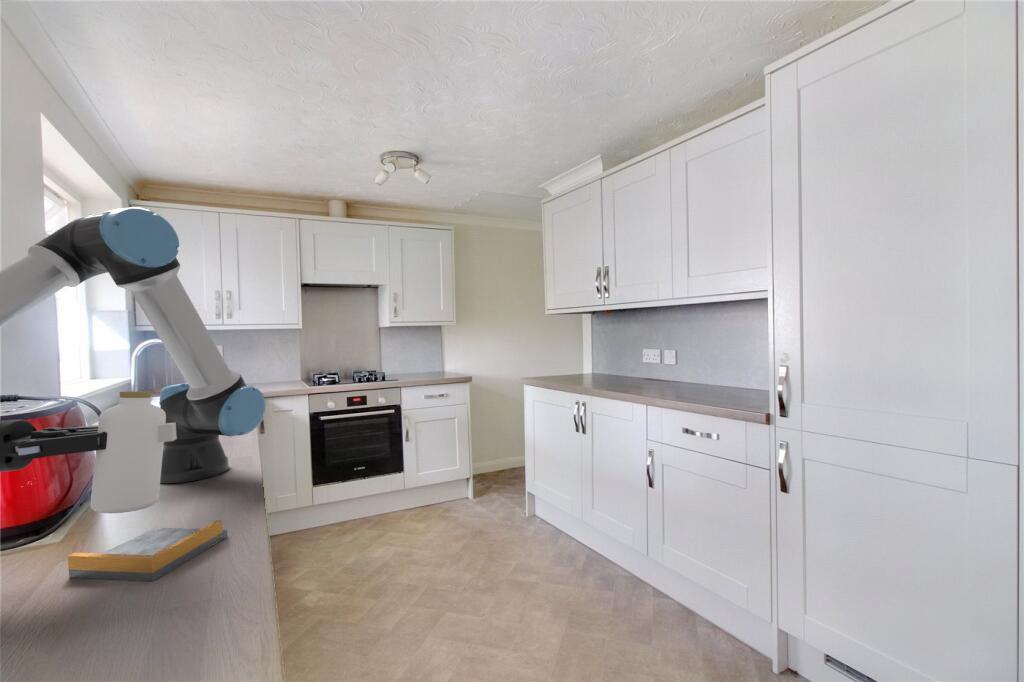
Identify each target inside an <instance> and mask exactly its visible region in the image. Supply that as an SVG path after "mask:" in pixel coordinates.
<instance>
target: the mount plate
mask: <svg viewBox="0 0 1024 682" xmlns="http://www.w3.org/2000/svg"><path fill="white" fill-rule="evenodd" d="M225 537H226V538H227V537H228V529H223V521H222V520H215V521H213V522H211V523H209V524H207V525H205V526H204V527H202V528H175V527H174V528H173V527H171V528H169V527H154V528H152V529H150V530H147V531H146V532H144V533H142V534H140V535H137V536H135V537H134V538H131V539H129V540H127V541H125V542H123V543H120V544H118V545H117V546H115V547H112V548H111V549H108V550H106V551H103V552H102V553H96V552H74V553H71V554H68V555H67V563H68V577H69V578H73V579H76V578H77V579H95V580H96V579H97V580H112V581H113V580H114V581H115V580H117V581H118V580H119V581H120V580H121V581H139V582H155V581H157V580H158V579H159V578H162V577H163V576H164V575H166V574H167V573H170V572H171V571H173V570H174V569H176V568H178V567H179V566H182V565H183V564H185V563H186V562H188V561H190V560H191V559H194V558H195V557H196V556H198V555H199V554H201V553H203V552H205V551H206V550H207V548H208V547H209V548H211V547H213V546H214V545H216V544H217V543H216V542H218V541H219V542H221V541H223V540H224V539H226V538H225ZM223 538H224V539H223ZM222 539H223V540H222ZM220 540H221V541H220ZM219 542H218V543H219ZM215 543H216V544H215ZM213 544H214V545H213ZM212 545H213V546H212ZM210 546H211V547H210ZM209 548H208V549H209ZM205 549H206V550H205ZM202 551H203V552H202Z"/></svg>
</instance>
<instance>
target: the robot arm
mask: <svg viewBox="0 0 1024 682" xmlns="http://www.w3.org/2000/svg"><path fill="white" fill-rule="evenodd" d="M179 247H180V240H179V236H178V234H177V232H176V229H174V227H173V225H172V224H171V223H170V222H169V221H168V220H167V219H165V218H164V217H163V216H162V215H160V214H159V213H157V212H155V211H152V210H150V209H146V208H144V207H136V206H135V207H119V208H114V209H112V210H106V211H104V212H98V213H94V214H93V213H92V214H88V215H83V216H80V217H78V218H76V219H75V218H74V220H72V221H70V222H68V223H67V224H65V225H64V226H62V227H61V228H59V229H57V230H56V231H54V232H52V233H51V234H50V235H48V236H47V237H45V238H43V239H42V240H39V241H38V242H36V243H35V244H33V245H31V246H29V247H28V249H27V255H26V256H24V257H23V258H21V259H20V260H18V261H16V262H14V263H12V264H10V265H8V266H7V267H5V268H3V269H2V270H0V329H2V328H3V327H5V326H6V325H8V324H9V323H10V322H12V321H14V320H15V319H17V318H18V317H20V316H22V315H24V313H27V312H28V311H29V310H31V309H32V308H34V307H36V306H37V305H39V304H40V303H42V302H44V301H45V300H46V299H47V298H49V297H51V296H53V295H54V294H56V293H57V292H59V291H60V290H62V289H63V288H65V287H67V288H68V287H69V288H74V287H75V288H76V287H77V286H79V285H80V284H82V283H83V282H85V281H87V280H89V279H91V278H93V277H95V276H100V275H102V274H107V273H108V275H109V276H110V278H111V280H112V281H113V282H114V284H115V285H116V287H118V288H122V289H125V290H128V291H130V293H131V294H132V295H133V298H134V299H135V301H136V302H137V304H138V305H139V307H140V309H141V310H142V312H143V313H144V315H145V316H146V319H147V321H148V322H149V323H150V324H151V326H152V328H153V330H154V331H155V333H156V335H157V336H158V338H159V340H160V341H161V343H162V344H163V346H164V348H165V349H166V350H167V352H168V354H169V356H170V357H171V359H172V360H173V362H174V364H175V365H176V367H177V369H178V371H179V372H180V373H181V375H182V377H183V379H184V380H185V382H183V383H178V384H172V385H167V386H166V385H165V386H164V387H163V388H162V389H161V390H160V392H159V393H160V394H159V403H158V404H159V406H160V407H159V408H161V409H163V410H164V411H165V413H166V422H165V423H164V424H161V425H158V442H164V444H163V455H162V467H161V478H160V484H179V483H181V484H182V483H187V482H192V481H199V480H204V479H207V478H211V477H215V476H217V475H220V474H222V473H225V472H226V471H228V470H229V467H230V464H229V458H228V456H227V455H226V453H225V450H224V448H223V444H222V443H221V440H220V436H226V437H238V436H244V435H247V434H249V433H251V432H253V431H254V430H256V428H257V427H258V426H259V425H260V423H261V422H262V420H263V418H264V414H265V412H266V399H265V396H264V394H263V392H262V391H261V390H260V389H258V388H257V387H254V386H253V385H252V386H251V385H247V384H246V382H245V381H244V378H243V377H242V374H241V373H240V371H237V370H234V369H230V368H229V367H228V365H227V362H226V361H225V359H224V358H223V356H222V354H221V352H220V351H219V348H218V347H217V345H216V343H215V342H214V341H215V340H214V339H213V338H212V336H211V334H210V332H209V330H208V329H207V327H206V325H205V323H204V321H203V320H202V318H201V316H200V314H199V313H198V311H197V309H196V307H195V305H194V303H193V302H192V300H191V298H190V295H188V293H187V292H186V289H185V287H184V286H183V283H182V282H181V281H180V279H179V276H178V273H179V270H180V268H181V263H180V262H179V260H178V258H177V255H178V253H179V249H178V248H179ZM98 437H100V446H98ZM106 445H107V432H102V433H98V425H88V426H87V425H74V426H71V427H59V426H51V427H44V428H42V430H41V429H40V430H37V428H36V427H35V425H34V424H33V423H31V422H30V421H28V420H26V419H23V418H22V419H17V418H16V419H7V420H6V419H5V420H4V419H3V420H0V473H3V472H13V471H14V472H15V471H20V470H23V469H24V468H27V467H28V466H29V465H31V463H32V462H33V461H34V459H43V458H45V457H46V458H47V457H54V456H63V455H71V454H80V453H88V452H93V451H94V452H96V450H104V449H106Z"/></svg>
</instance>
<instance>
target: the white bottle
mask: <svg viewBox="0 0 1024 682" xmlns="http://www.w3.org/2000/svg"><path fill="white" fill-rule="evenodd" d="M152 394H153V391H134V390H133V391H130V390H129V391H126V390H125V391H120V392H119V396H118V397H117V402H118V404H116V405H114V406H111V407H108V408H106V409H104V410H103V411H102V412H101V413H100V415H99V417H98V425H97V426H98V433H102V432H107V445H106V449H104V450H96V451H95V453H94V454H95V456H94V463H93V464H94V465H93V466H94V467H93V476H92V486H91V497H90V509H92V510H93V511H95V512H96V513H99V514H122V513H130V512H136V511H141V510H145V509H147V508H150V507H151V506H153V505H155V504H156V503H157V502H158V501H159V499H160V498H159V497H160V488H161V483H160V478H161V467H162V455H163V444H164V442H158V425H161V424H164V423H165V422H166V413H165V411H164V410H163V409H161V408H160V407H159V406H156V405H154V404H151V403H152V400H153V397H152ZM98 446H100V437H98Z"/></svg>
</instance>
